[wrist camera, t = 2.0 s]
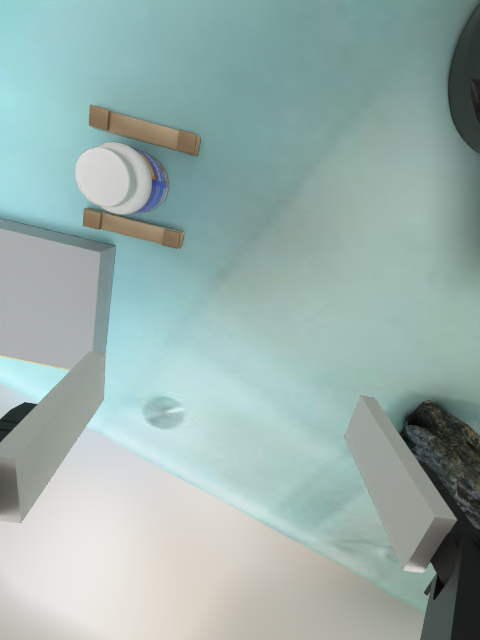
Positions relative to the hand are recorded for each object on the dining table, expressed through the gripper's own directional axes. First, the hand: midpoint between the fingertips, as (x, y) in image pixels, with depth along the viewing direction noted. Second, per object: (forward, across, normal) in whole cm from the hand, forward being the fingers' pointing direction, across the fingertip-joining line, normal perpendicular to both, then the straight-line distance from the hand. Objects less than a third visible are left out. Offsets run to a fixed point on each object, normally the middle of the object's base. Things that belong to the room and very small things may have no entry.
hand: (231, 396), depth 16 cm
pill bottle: (+21, -11, +9) cm, 26 cm away
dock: (+21, -21, -5) cm, 30 cm away
